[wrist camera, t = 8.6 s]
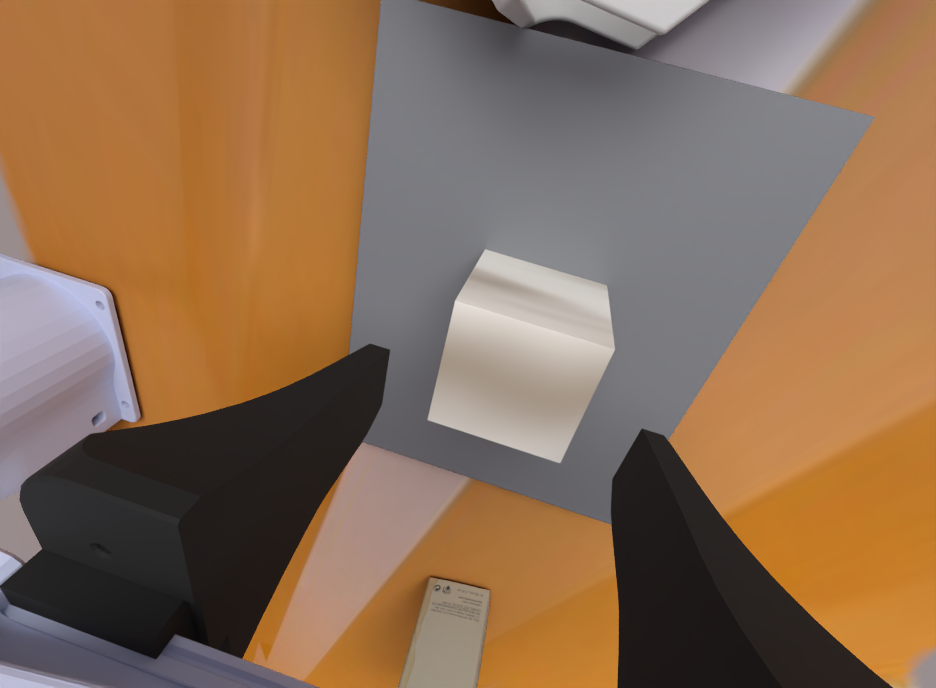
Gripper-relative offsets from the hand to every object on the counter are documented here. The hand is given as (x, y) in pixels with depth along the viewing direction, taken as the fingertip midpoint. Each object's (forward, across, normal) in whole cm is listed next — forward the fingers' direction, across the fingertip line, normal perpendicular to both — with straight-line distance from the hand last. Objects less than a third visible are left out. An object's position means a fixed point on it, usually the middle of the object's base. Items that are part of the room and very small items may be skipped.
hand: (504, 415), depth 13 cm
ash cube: (+6, 0, 0) cm, 6 cm away
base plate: (+8, 0, 0) cm, 8 cm away
